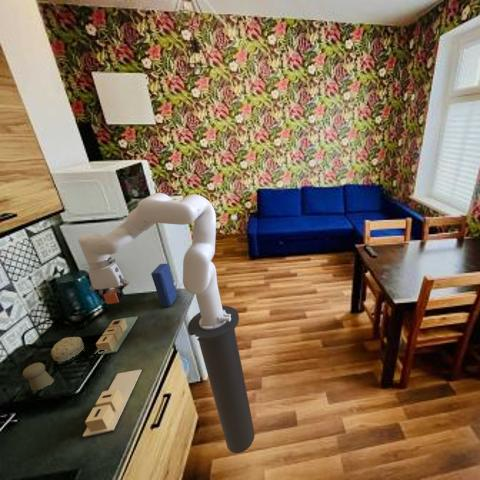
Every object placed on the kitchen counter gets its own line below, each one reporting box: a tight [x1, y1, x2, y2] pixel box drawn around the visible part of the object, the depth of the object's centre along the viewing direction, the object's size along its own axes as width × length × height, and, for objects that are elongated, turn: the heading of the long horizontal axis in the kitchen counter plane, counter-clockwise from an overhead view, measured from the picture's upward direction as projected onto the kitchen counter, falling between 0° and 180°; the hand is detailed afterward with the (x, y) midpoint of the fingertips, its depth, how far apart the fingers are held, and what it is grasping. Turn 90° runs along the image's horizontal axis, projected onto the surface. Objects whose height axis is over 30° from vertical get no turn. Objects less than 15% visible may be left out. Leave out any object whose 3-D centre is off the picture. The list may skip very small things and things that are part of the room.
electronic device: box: [150, 263, 179, 308], centre depth 135 cm, size 10×5×20 cm, turn 6°
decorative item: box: [50, 336, 85, 362], centre depth 105 cm, size 10×10×10 cm
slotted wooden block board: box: [82, 369, 143, 438], centre depth 88 cm, size 22×8×5 cm, turn 12°
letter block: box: [103, 288, 120, 305], centre depth 115 cm, size 4×4×5 cm
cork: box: [22, 362, 55, 391], centre depth 91 cm, size 6×6×11 cm
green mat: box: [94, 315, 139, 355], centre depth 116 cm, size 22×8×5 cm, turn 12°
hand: (115, 299), depth 115 cm, fingers closed on letter block, 4 cm apart
